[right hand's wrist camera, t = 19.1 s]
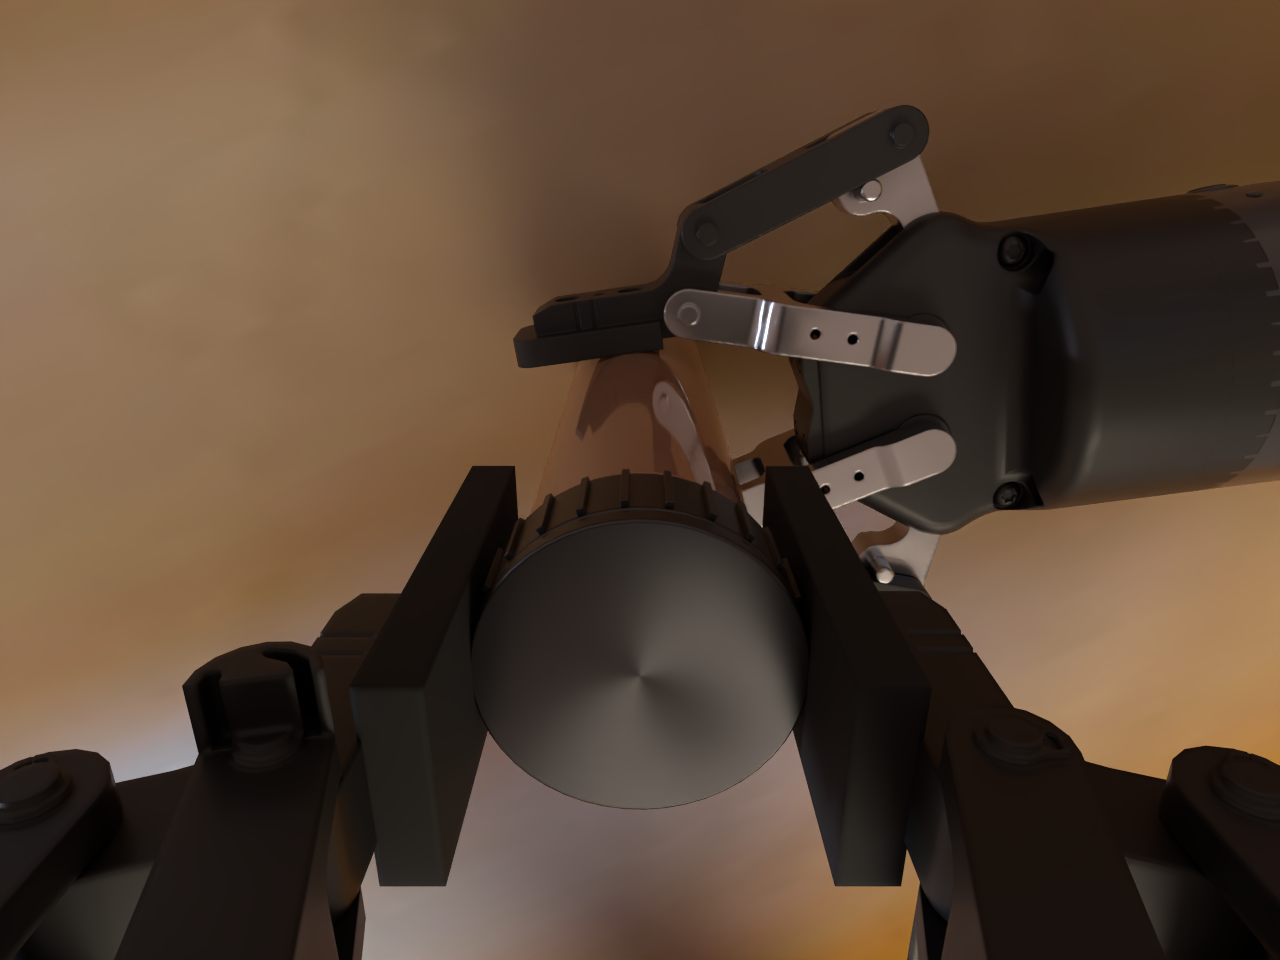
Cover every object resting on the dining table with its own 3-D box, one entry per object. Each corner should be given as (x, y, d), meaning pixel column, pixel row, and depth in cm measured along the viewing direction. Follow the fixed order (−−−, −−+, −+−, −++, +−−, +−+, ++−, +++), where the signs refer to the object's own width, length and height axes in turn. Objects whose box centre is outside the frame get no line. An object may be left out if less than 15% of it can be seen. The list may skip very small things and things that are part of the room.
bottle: (563, 329, 27) (453, 561, 11) (678, 288, 26) (735, 472, 11) (604, 437, 28) (558, 783, 12) (714, 401, 28) (813, 712, 12)
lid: (821, 482, 11) (850, 532, 10) (768, 749, 13) (786, 826, 12) (491, 450, 11) (467, 496, 10) (480, 724, 13) (459, 801, 11)
